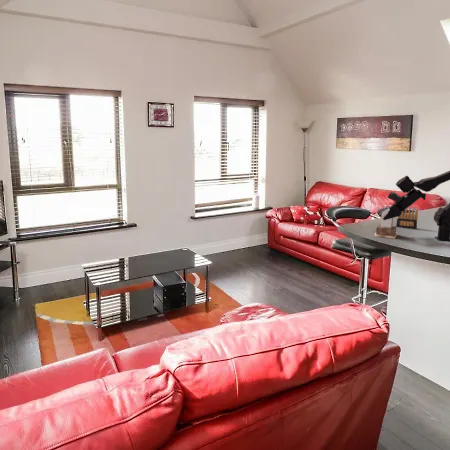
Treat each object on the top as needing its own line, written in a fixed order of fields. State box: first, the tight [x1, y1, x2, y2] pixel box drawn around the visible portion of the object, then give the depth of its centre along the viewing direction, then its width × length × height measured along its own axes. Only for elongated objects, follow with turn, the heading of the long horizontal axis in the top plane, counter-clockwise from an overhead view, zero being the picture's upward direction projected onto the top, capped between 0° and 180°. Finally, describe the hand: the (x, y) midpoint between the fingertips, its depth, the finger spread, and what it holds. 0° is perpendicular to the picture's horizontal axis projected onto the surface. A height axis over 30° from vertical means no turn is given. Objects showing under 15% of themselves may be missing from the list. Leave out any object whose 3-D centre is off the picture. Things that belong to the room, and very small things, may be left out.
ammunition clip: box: [396, 207, 419, 230], centre depth 241 cm, size 11×2×12 cm, turn 62°
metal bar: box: [380, 211, 394, 229], centre depth 222 cm, size 5×5×11 cm
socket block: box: [373, 224, 398, 239], centre depth 223 cm, size 10×10×4 cm
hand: (384, 218), depth 222 cm, fingers open, 8 cm apart
